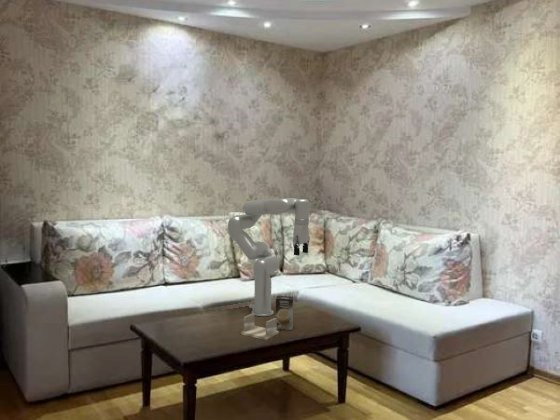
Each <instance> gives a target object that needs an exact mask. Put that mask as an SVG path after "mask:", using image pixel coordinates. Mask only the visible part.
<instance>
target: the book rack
mask: <svg viewBox="0 0 560 420" xmlns="http://www.w3.org/2000/svg"><path fill="white" fill-rule="evenodd" d="M255 317H256V315H255V314H254V313H249V314H248V315H245V316H243V328H242V329H243V330H242V331H240V335H242V336H247V337H251V338H256V339H260V340H264V341H267V340H269V339H271V338H273V337H274V336H277V335H278V334H279V333H280V331H279V330H278V329H277V318H275V317H273V318H271V319H269V320H267V321H265V327H264V326H263V327H262V326H258V325H255V322H256V321H255V319H256V318H255Z"/></svg>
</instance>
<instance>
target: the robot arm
mask: <svg viewBox="0 0 560 420" xmlns="http://www.w3.org/2000/svg"><path fill="white" fill-rule="evenodd" d="M242 205H243V206H242V210H243V213H244V214H237V215H233V216H232V217H231V218H230V219H229V220H228V223H227V231H228V233H229V236H230V237H231V239H232V240H234V242H235V243H236V244H237V246H238V248H239V249H240V250H241V251H242V252H243V254H244V256H245V257H246V258H247V259H248V260H250V261H252V260H253V261H254V260H255V262H254V263H253V267H252V270H253V277H254V300H253V301H254V302H253V303H249V306H248V307H249V308H250V309H252V310H251V311H250V312H251V313H250V314H252V313H254V314H255V317H268V316H272V315H274V314H275V312H274V310H273V309H272V278H271V276H270V274H272V273H274V272H276V271H278V270H279V268H280V266H281V265H280V260H279V258H278V257H277V256H276V254H275V253H274V252H273V251H272V249H271V248H270V246H269V245H268V244H267V243H265V242H263V241H254V239H253V238H252V237H251V236H250V235H249V234H248V233H247V232H246V231H244V230H247V229H251V228H252V227H254V226H255V224H256V223H257V222H258V221H259V219H260V218H261V217H262V215H273V214H284V213H293V212H294V227H293V234H292V245H293V256H300V255H301V254H300V251H301V250H300V246H301V245H302V253H303V254H308V253H309V245H310V239H311V237H310V233H309V232H310V231H309V225H310V200H309V199H306V198H296V197H287V198H285V197H284V198H275V199H269V198H264V199H263V198H262V199H251V200H248V201H245V202H244V204H242Z"/></svg>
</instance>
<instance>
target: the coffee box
mask: <svg viewBox="0 0 560 420" xmlns="http://www.w3.org/2000/svg"><path fill="white" fill-rule="evenodd" d="M275 298H276V299H275V312H274V315H275V317H274V318H277V330H284V329H285V331H286V330H288V331H292V330H293V323H294V322H293V321H294V303H295V302H294V300H295V299H294V296H290V295H287V296H286V295H276V297H275Z"/></svg>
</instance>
